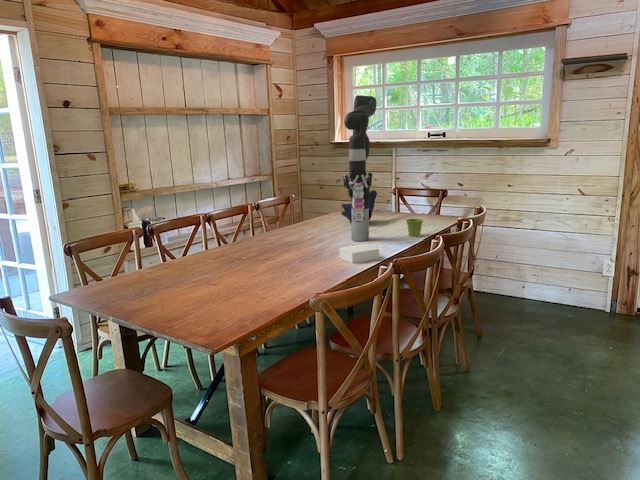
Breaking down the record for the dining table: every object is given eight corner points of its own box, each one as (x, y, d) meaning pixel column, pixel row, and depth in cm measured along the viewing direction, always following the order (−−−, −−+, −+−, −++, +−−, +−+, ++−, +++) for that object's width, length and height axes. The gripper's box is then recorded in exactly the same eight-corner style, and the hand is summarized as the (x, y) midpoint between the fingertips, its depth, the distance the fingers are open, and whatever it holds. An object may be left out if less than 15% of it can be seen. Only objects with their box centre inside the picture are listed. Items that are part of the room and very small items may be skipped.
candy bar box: (365, 222, 210) (364, 185, 206) (354, 222, 210) (352, 185, 206) (363, 217, 221) (362, 182, 217) (352, 218, 221) (351, 183, 217)
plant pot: (424, 234, 264) (425, 218, 262) (420, 237, 256) (421, 222, 254) (408, 233, 268) (408, 218, 266) (404, 236, 260) (404, 221, 258)
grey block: (339, 258, 222) (339, 247, 220) (365, 254, 227) (365, 243, 226) (352, 264, 211) (352, 253, 210) (379, 259, 217) (378, 248, 216)
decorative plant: (349, 240, 297) (347, 219, 324) (387, 224, 292) (382, 204, 318) (335, 213, 288) (334, 194, 315) (374, 196, 283) (370, 178, 309)
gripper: (366, 158, 215) (367, 194, 219) (339, 160, 209) (340, 197, 213) (375, 158, 209) (376, 196, 213) (347, 160, 203) (348, 199, 207)
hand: (358, 196), depth 213 cm, fingers closed on candy bar box, 6 cm apart
